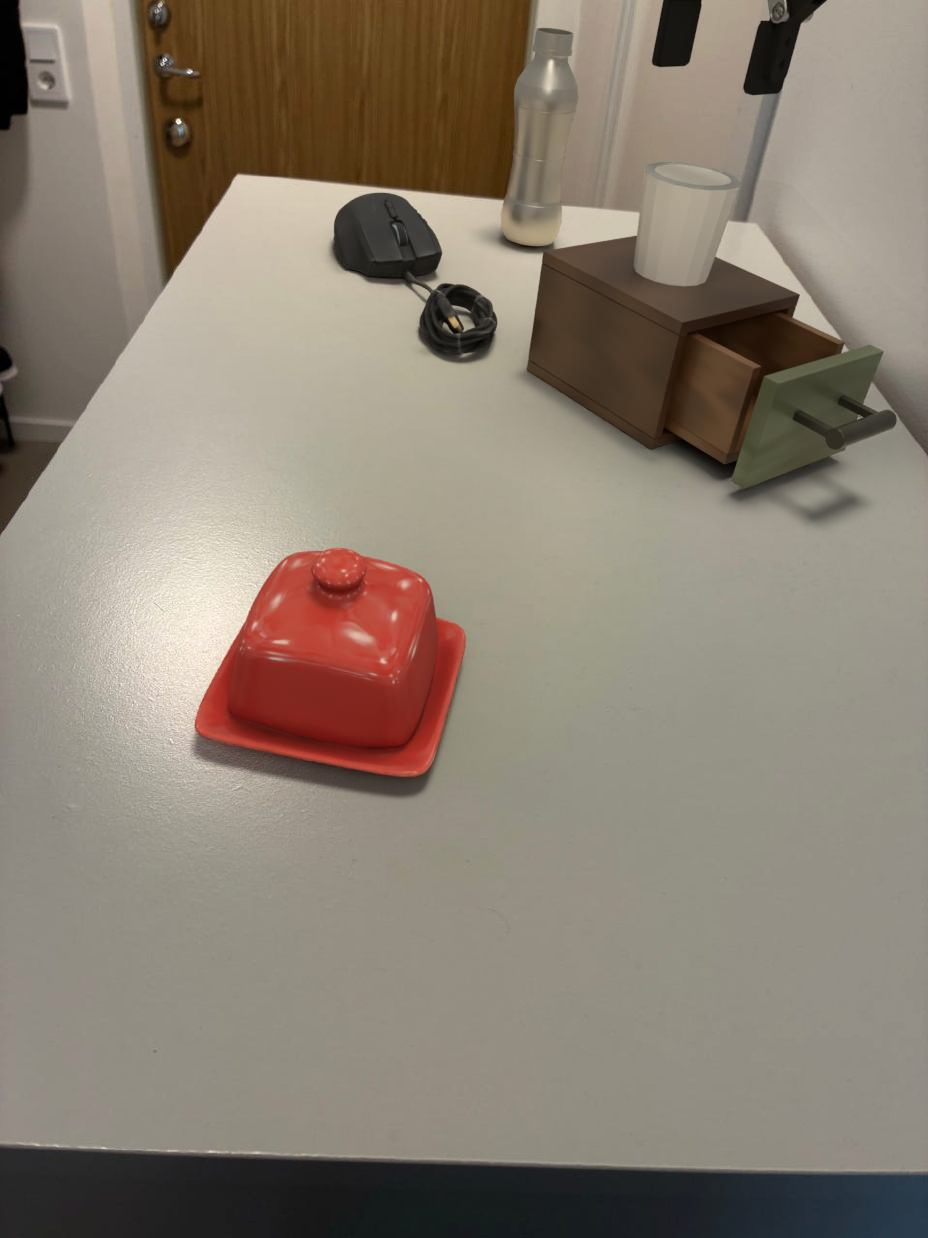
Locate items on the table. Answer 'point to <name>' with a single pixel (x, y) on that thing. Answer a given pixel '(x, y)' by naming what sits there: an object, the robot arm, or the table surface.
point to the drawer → (773, 395)
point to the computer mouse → (410, 266)
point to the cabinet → (631, 329)
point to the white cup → (682, 221)
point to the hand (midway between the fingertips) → (714, 76)
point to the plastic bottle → (540, 141)
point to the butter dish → (338, 667)
